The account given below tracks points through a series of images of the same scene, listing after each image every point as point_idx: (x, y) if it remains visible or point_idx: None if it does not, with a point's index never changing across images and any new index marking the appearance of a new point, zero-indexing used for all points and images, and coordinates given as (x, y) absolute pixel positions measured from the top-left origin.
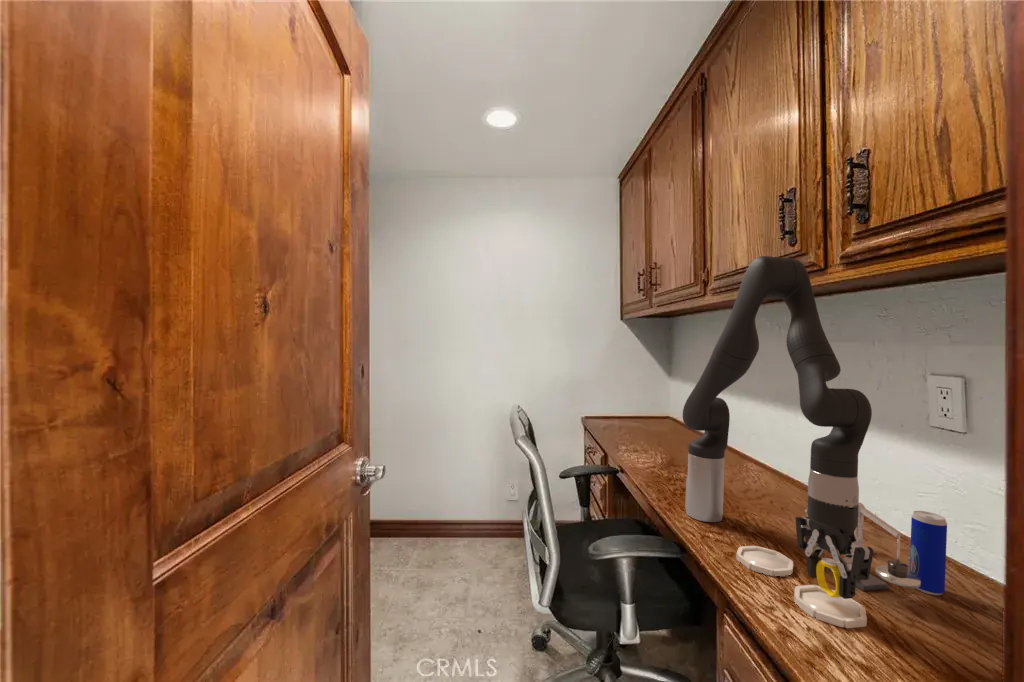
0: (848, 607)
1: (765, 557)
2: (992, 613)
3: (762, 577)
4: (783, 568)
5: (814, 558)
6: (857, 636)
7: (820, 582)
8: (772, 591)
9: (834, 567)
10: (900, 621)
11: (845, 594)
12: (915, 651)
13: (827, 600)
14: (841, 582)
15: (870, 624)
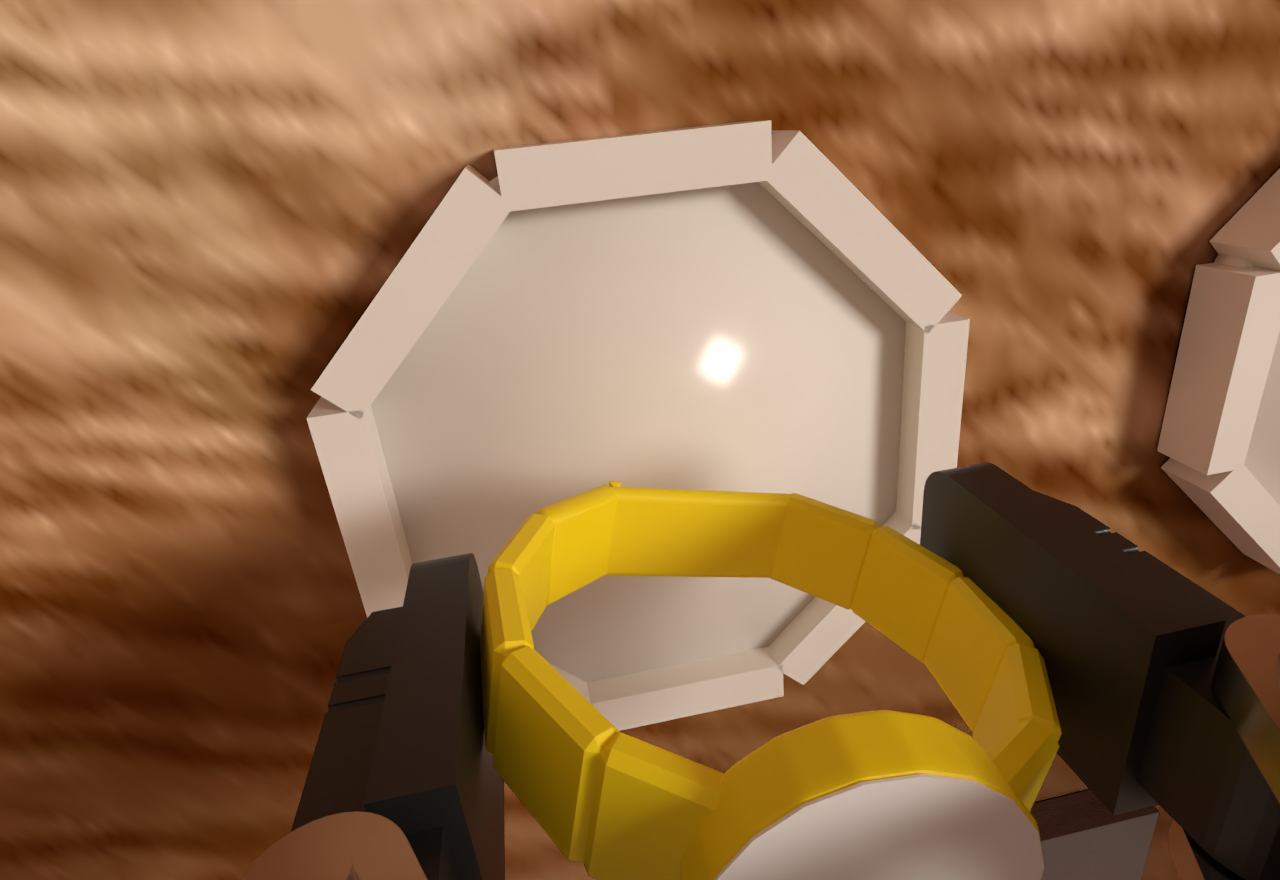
0: (615, 615)
1: None
2: None
3: (1235, 103)
4: (1254, 410)
5: (1145, 702)
6: (200, 412)
7: (839, 534)
8: (996, 13)
9: (692, 863)
10: None
11: (397, 619)
12: (72, 750)
13: None
14: (416, 705)
15: None
